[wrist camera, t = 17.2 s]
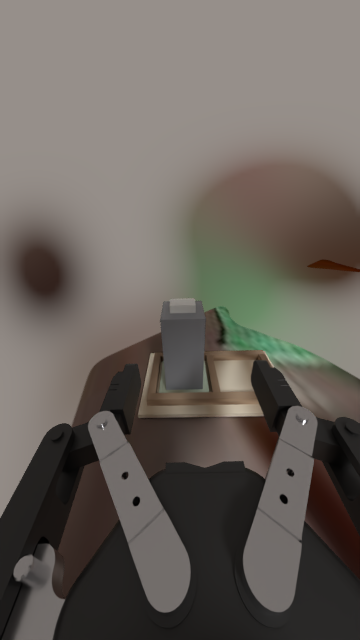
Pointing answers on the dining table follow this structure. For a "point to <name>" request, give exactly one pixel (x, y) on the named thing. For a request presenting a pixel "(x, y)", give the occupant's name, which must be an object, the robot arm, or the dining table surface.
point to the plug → (183, 343)
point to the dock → (205, 388)
